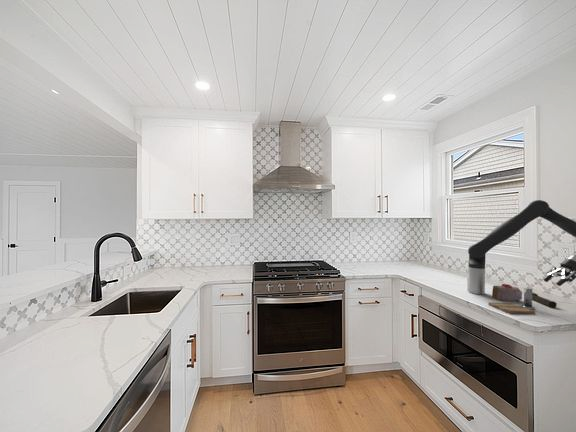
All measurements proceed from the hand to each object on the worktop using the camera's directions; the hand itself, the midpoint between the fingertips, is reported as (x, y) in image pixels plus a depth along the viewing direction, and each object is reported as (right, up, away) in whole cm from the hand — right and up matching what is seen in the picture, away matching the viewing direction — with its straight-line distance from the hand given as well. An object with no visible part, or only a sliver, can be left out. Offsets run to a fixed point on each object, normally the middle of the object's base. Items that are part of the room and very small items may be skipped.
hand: (551, 282), depth 145 cm
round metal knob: (-11, -15, +2) cm, 19 cm away
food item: (-11, -15, +17) cm, 25 cm away
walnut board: (-23, -15, -1) cm, 28 cm away
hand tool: (+5, -16, +12) cm, 20 cm away
